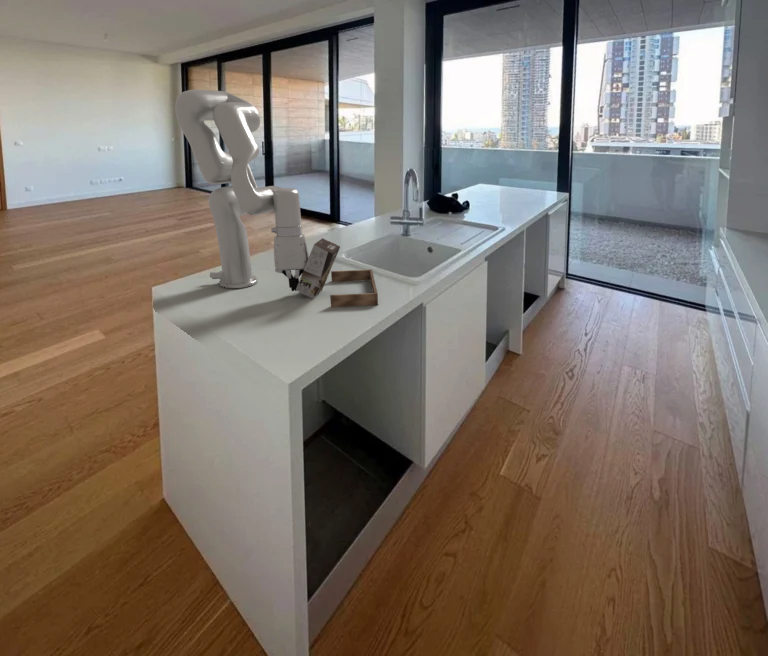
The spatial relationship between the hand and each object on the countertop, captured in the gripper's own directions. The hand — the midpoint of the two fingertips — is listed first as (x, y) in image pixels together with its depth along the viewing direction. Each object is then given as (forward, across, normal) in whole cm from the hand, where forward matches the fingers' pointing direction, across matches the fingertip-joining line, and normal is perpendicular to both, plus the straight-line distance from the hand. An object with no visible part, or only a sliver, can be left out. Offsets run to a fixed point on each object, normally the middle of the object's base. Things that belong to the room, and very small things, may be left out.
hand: (294, 289), depth 156 cm
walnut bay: (+2, +18, 0) cm, 18 cm away
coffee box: (+1, +4, 0) cm, 5 cm away
